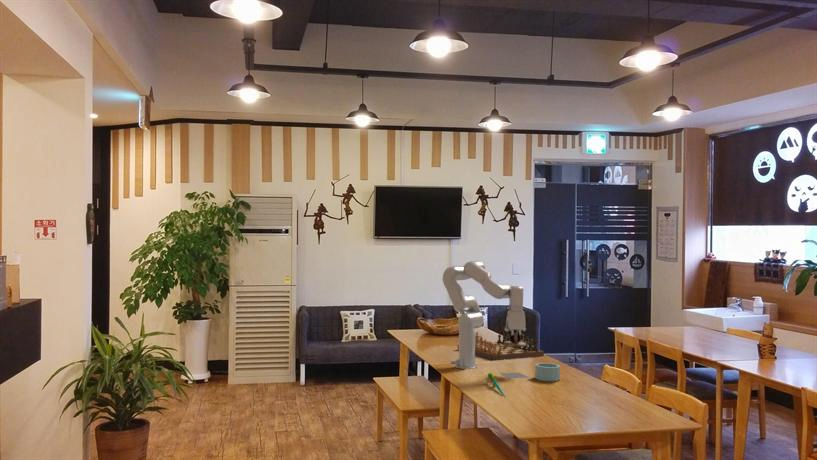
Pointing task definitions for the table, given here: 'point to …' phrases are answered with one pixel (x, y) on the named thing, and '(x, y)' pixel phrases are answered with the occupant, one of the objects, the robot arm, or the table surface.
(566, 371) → the table surface
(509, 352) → the chess set
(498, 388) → the toy sword
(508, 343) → the lid
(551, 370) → the bowl
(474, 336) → the robot arm
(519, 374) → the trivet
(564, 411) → the table surface
